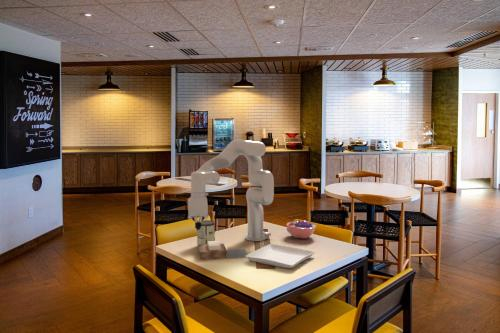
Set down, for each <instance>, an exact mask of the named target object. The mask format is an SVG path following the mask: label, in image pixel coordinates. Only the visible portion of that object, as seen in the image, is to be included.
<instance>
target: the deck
mask: <svg viewBox="0 0 500 333" xmlns="http://www.w3.org/2000/svg"><path fill="white" fill-rule="evenodd" d="M220 245H221V250H209V248H208V244H204V245H198V247H197V250H198V257H199V261H200V260H201V261H203V260H204V261H205V260H218V259H219V260H223V259H228V255H227V250H228V249H226V246H225V243H220Z"/></svg>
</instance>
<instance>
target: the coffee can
mask: <svg viewBox="0 0 500 333" xmlns="http://www.w3.org/2000/svg"><path fill="white" fill-rule="evenodd" d="M215 224H216V222H215V221H213V220H211V219H210V220H207V219H204V220H203V221H202V222H201V228H200V230H197V229H196V235H197V236H196V237H197V238H196V239H197V240H196V242H197V244H196V245H197V246H196V247H197V248H198V245H204V244H208V241H216V230H215V229H216V228H215V226H216V225H215Z"/></svg>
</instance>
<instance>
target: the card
mask: <svg viewBox="0 0 500 333" xmlns="http://www.w3.org/2000/svg"><path fill="white" fill-rule="evenodd" d="M220 244H221V243H220V241H219V240H215V241H208V248H209V250H221V245H220Z"/></svg>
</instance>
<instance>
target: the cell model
mask: <svg viewBox="0 0 500 333" xmlns="http://www.w3.org/2000/svg"><path fill="white" fill-rule="evenodd" d="M285 225H286V231H287V232H288V233H289V234H290V236H292V237H294V238H295V239H301V240H303V239H304V240H305V239H306V240H307V239H309V238H310V237H311V236H312V235H313V233H314V232H315V230H316V227H317V224H315V223H313V222H308V221H307V220H300V219H298V220H297V221H296V220H292V221H289V222H287V223H286V224H285Z"/></svg>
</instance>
